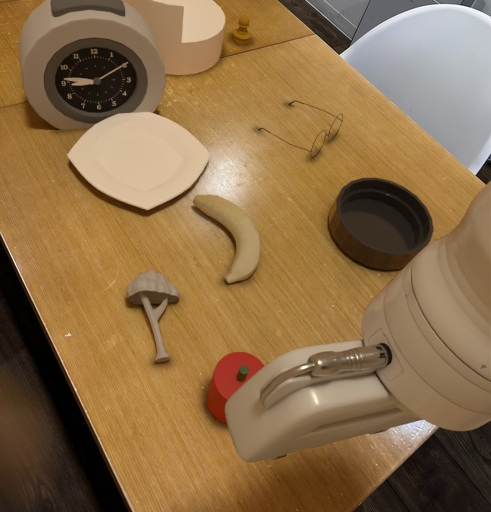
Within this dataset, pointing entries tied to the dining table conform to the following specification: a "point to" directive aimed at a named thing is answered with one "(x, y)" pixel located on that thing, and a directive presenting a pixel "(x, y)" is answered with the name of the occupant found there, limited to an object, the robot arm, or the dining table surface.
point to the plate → (139, 158)
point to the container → (184, 32)
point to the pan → (380, 223)
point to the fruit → (234, 234)
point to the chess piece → (242, 32)
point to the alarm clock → (89, 62)
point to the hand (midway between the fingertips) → (323, 435)
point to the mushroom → (153, 301)
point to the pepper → (230, 380)
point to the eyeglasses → (319, 133)
